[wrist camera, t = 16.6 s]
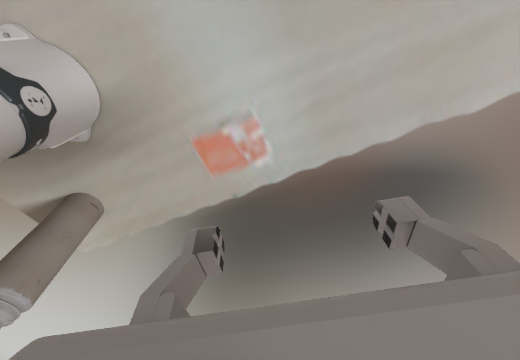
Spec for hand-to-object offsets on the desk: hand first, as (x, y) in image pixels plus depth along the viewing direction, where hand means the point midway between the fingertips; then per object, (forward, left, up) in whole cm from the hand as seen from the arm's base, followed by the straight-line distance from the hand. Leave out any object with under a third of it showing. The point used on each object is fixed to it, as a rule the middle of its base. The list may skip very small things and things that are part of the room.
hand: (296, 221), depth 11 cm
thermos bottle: (-45, -20, -34) cm, 60 cm away
